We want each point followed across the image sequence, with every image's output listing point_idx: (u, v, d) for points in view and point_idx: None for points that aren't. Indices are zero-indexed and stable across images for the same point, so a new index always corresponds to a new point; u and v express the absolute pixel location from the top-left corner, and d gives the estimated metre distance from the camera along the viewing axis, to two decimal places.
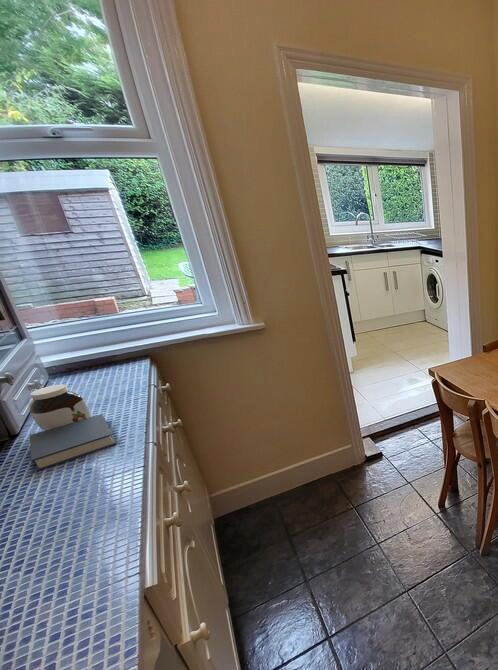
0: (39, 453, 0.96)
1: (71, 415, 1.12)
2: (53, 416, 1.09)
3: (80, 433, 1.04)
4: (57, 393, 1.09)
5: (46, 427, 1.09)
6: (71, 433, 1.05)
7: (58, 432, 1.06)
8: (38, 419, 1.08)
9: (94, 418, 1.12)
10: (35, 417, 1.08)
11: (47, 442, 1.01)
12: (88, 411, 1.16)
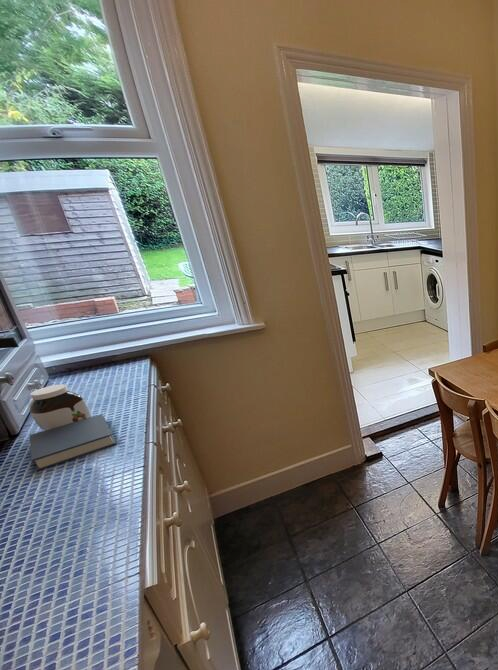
0: (39, 453, 0.96)
1: (71, 415, 1.12)
2: (53, 416, 1.09)
3: (80, 433, 1.04)
4: (57, 393, 1.09)
5: (46, 427, 1.09)
6: (71, 433, 1.05)
7: (58, 432, 1.06)
8: (38, 419, 1.08)
9: (94, 418, 1.12)
10: (35, 417, 1.08)
11: (47, 442, 1.01)
12: (88, 411, 1.16)
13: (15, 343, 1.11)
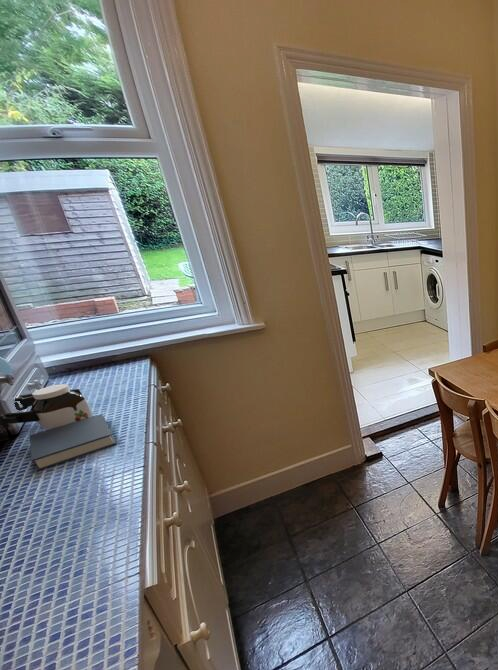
0: (39, 453, 0.96)
1: (74, 414, 1.12)
2: (56, 416, 1.09)
3: (80, 433, 1.04)
4: (60, 393, 1.09)
5: (49, 426, 1.09)
6: (71, 433, 1.05)
7: (58, 432, 1.06)
8: (41, 418, 1.08)
9: (94, 418, 1.12)
10: None
11: (47, 442, 1.01)
12: (90, 410, 1.16)
13: (80, 394, 1.19)
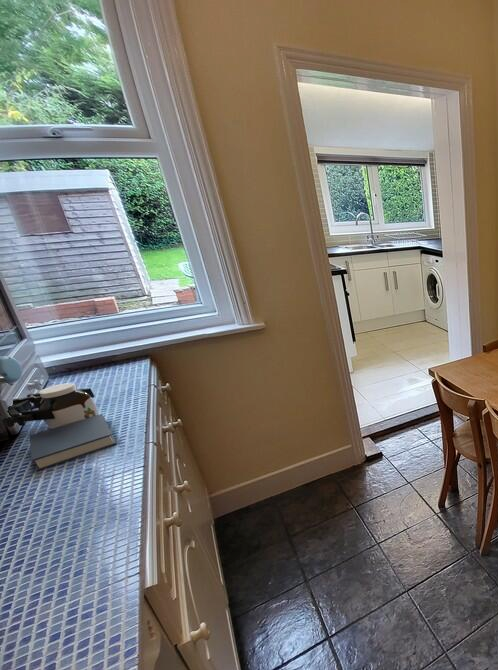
0: (39, 453, 0.96)
1: (83, 412, 1.13)
2: (67, 413, 1.10)
3: (80, 433, 1.04)
4: (69, 390, 1.10)
5: (59, 424, 1.09)
6: (71, 433, 1.05)
7: (58, 432, 1.06)
8: None
9: (94, 418, 1.12)
10: None
11: (47, 442, 1.01)
12: (96, 408, 1.17)
13: (92, 394, 1.19)
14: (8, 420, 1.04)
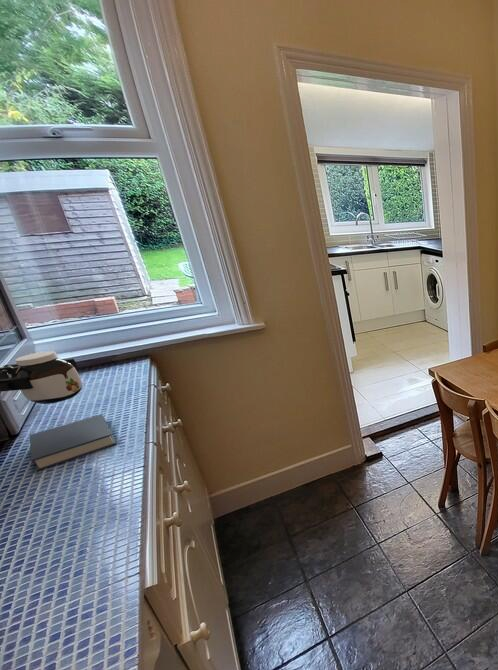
0: (39, 453, 0.96)
1: (65, 382, 1.03)
2: (47, 383, 1.00)
3: (80, 433, 1.04)
4: (49, 358, 1.00)
5: (38, 395, 0.99)
6: (71, 433, 1.05)
7: (58, 432, 1.06)
8: None
9: (94, 418, 1.12)
10: None
11: (47, 442, 1.01)
12: (80, 380, 1.07)
13: (75, 364, 1.09)
14: None
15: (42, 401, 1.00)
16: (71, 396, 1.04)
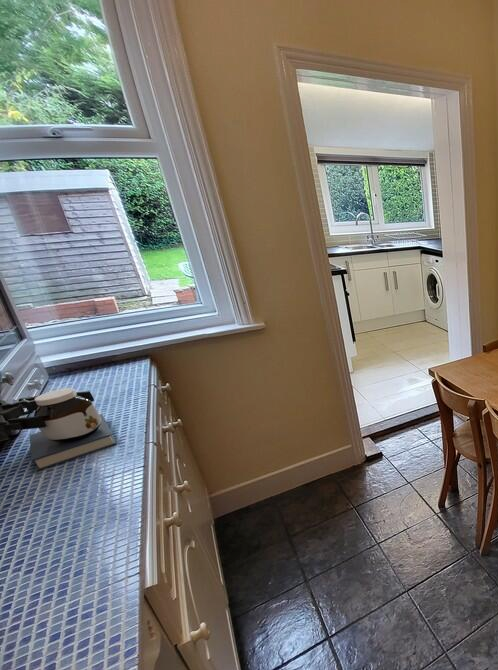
0: (39, 453, 0.96)
1: (84, 420, 1.01)
2: (67, 422, 0.98)
3: None
4: (68, 397, 0.99)
5: (58, 435, 0.98)
6: None
7: None
8: (48, 426, 0.97)
9: None
10: None
11: (47, 442, 1.01)
12: (99, 416, 1.05)
13: (91, 397, 1.08)
14: None
15: (61, 440, 0.99)
16: (90, 433, 1.03)
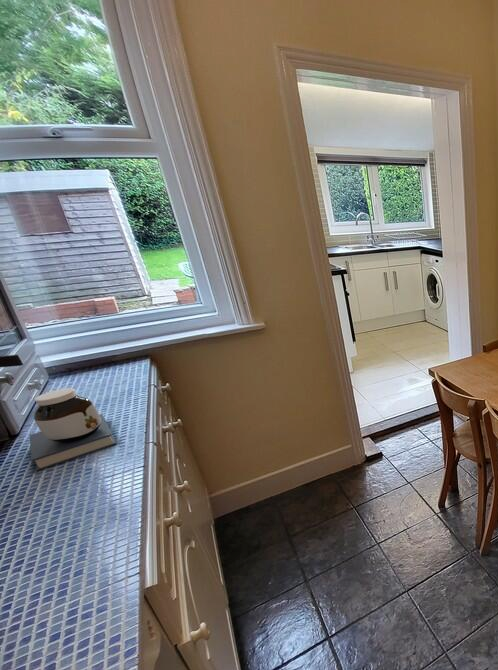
0: (39, 453, 0.96)
1: (84, 420, 1.01)
2: (67, 422, 0.98)
3: None
4: (68, 397, 0.99)
5: (58, 435, 0.98)
6: None
7: None
8: (48, 426, 0.97)
9: None
10: (44, 426, 0.97)
11: (47, 442, 1.01)
12: (99, 416, 1.05)
13: (19, 361, 1.03)
14: None
15: (61, 440, 0.99)
16: (90, 433, 1.03)
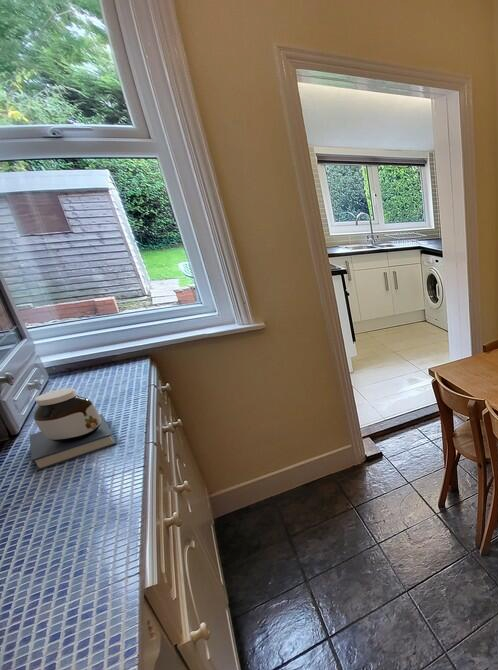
0: (39, 453, 0.96)
1: (84, 420, 1.01)
2: (67, 422, 0.98)
3: None
4: (68, 397, 0.99)
5: (58, 435, 0.98)
6: None
7: None
8: (48, 426, 0.97)
9: None
10: (44, 426, 0.97)
11: (47, 442, 1.01)
12: (99, 416, 1.05)
13: None
14: None
15: (61, 440, 0.99)
16: (90, 433, 1.03)
